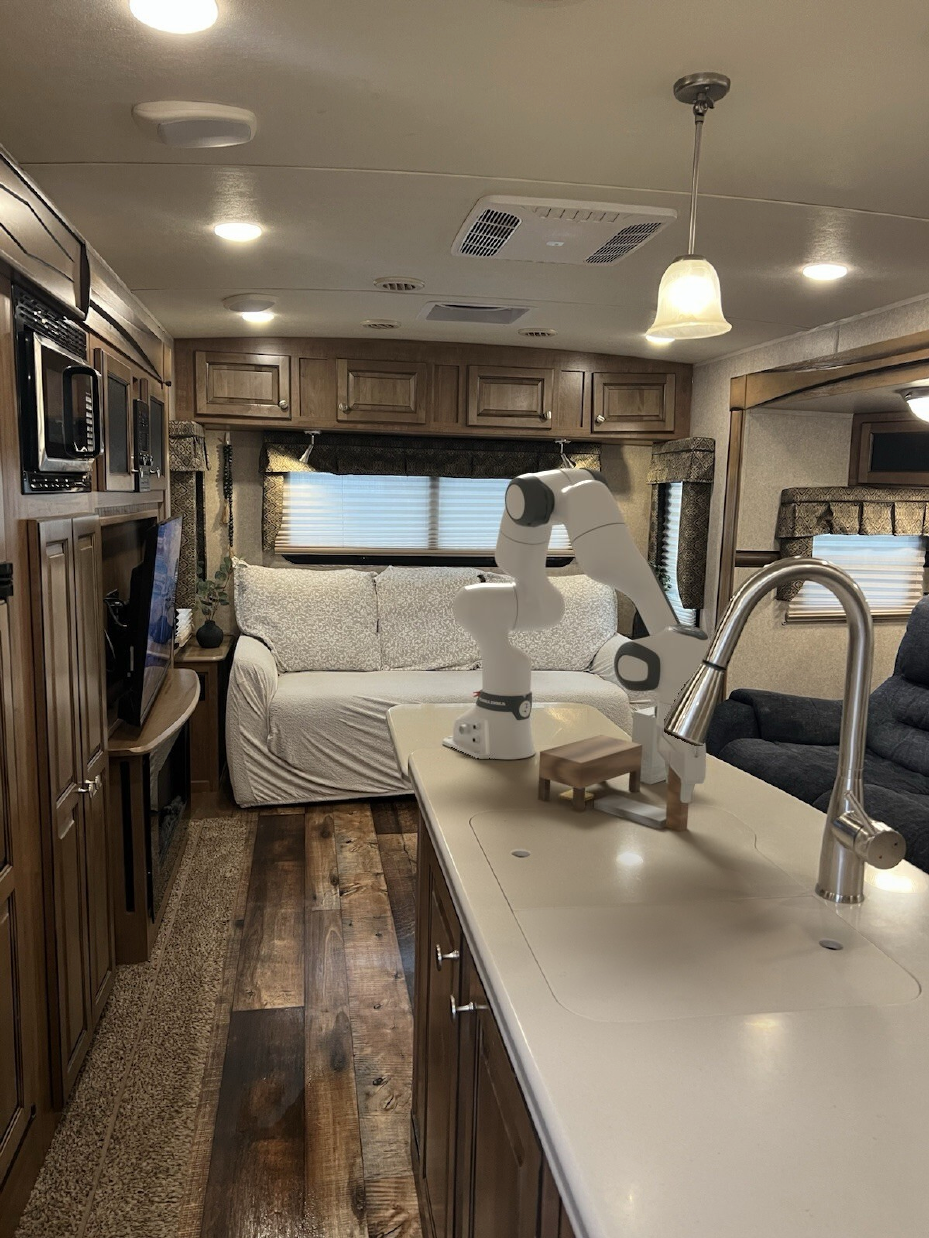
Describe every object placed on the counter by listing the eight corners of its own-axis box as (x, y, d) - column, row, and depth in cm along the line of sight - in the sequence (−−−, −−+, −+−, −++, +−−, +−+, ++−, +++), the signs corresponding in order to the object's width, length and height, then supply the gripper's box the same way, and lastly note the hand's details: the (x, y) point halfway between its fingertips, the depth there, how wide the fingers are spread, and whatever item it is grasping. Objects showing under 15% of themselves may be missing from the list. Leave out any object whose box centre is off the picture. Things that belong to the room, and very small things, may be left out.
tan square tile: (558, 799, 180) (558, 794, 180) (573, 793, 184) (573, 788, 184) (579, 805, 177) (580, 800, 177) (594, 799, 181) (594, 794, 181)
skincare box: (653, 771, 199) (657, 704, 197) (675, 778, 194) (680, 710, 192) (627, 778, 194) (631, 709, 192) (650, 785, 189) (654, 715, 187)
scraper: (692, 825, 166) (697, 750, 164) (674, 833, 162) (679, 756, 160) (612, 801, 178) (616, 731, 176) (594, 808, 174) (597, 736, 172)
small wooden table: (537, 799, 178) (539, 751, 177) (599, 778, 192) (601, 734, 191) (579, 812, 171) (581, 762, 170) (639, 790, 185) (642, 744, 184)
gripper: (717, 732, 152) (712, 812, 154) (685, 705, 172) (681, 776, 174) (680, 731, 152) (675, 812, 153) (652, 704, 172) (648, 775, 174)
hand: (678, 793), depth 164 cm, fingers open, 8 cm apart
